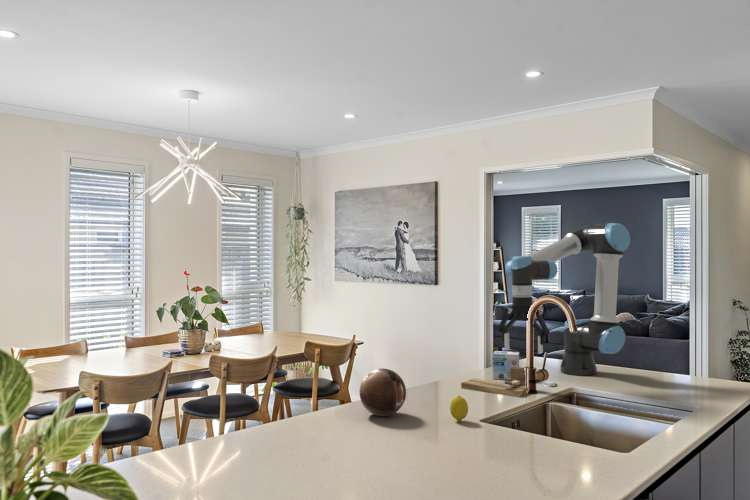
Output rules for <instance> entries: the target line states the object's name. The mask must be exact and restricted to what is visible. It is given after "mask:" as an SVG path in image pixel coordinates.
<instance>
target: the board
mask: <svg viewBox="0 0 750 500" xmlns="http://www.w3.org/2000/svg"><path fill="white" fill-rule="evenodd" d="M460 383H461V384H460V388H461V389H466V390H473V391H478V392H479V391H480V392H485V393H492V394H498V395H503V396H504V395H505V396H509V397H517V398H520V397H522V396H524V395H527V394H528V393H527V391H528V387H525V386H523V385H516V386H514V387H512V388H510V389H507V388H504V385H505V382H501V381H495V380H487V379H480V378H471V379H467V380H464V381H462V382H460Z"/></svg>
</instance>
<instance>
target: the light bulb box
mask: <svg viewBox="0 0 750 500" xmlns="http://www.w3.org/2000/svg"><path fill="white" fill-rule="evenodd" d="M512 367H520V352H519V351H506V350H502V351H501V350H500V351H499V350H494V351H493V352H492V379H493V380H505V381H507V380H508V381H510V368H512Z"/></svg>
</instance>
